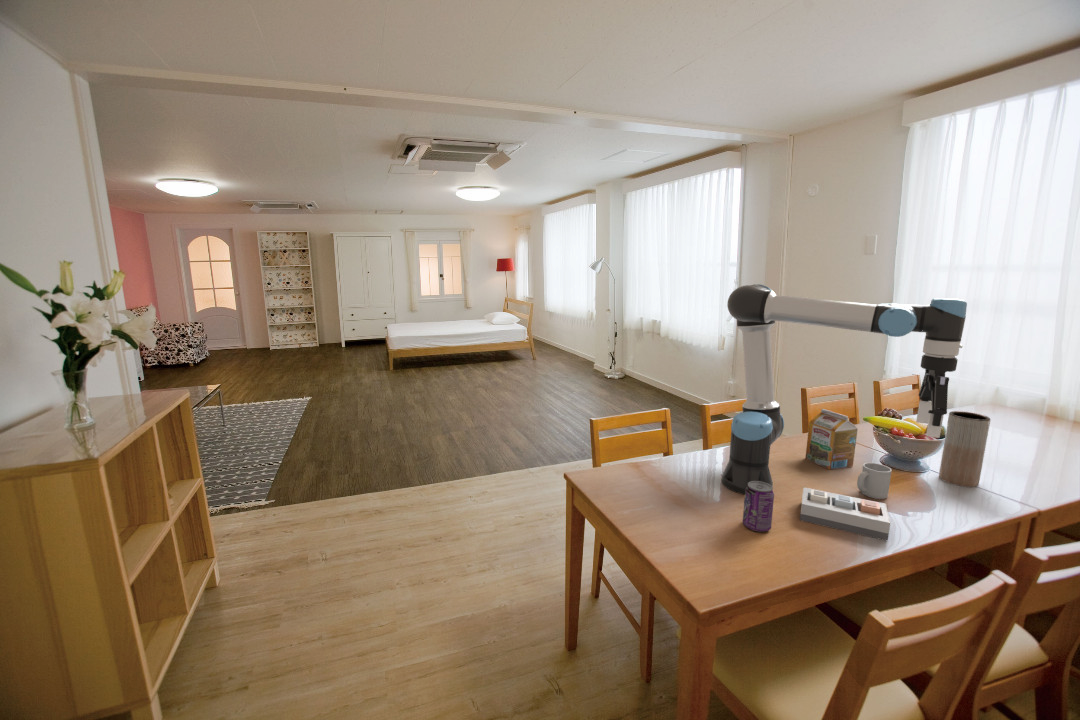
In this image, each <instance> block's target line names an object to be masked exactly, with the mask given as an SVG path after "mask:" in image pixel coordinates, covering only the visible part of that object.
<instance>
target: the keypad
mask: <svg viewBox="0 0 1080 720" xmlns="http://www.w3.org/2000/svg"><path fill="white" fill-rule="evenodd" d="M811 489H813V490H816V488H815V489H814V488H809V487H803V489H802V496H801V497H802V499H801V507H800V516H799V521H802V522H806V523H810V524H815V525H818V526H823V527H828V528H831V529H832V528H833V529H837V530H840V531H844V532H849V533H851V534H852V533H854V534H857V535H861V536H862V535H863V536H865V537H869V538H873V539H878V538H879V539H878V540H882V539H883V541H887V542H888V540H889V534H890V528H891V527H890V526H891V519H890V517H889V516H890V515H889V511H888V509H887V504H886V503H883V502H880V501H879V502H878V501H875V500H874V501H873V500H870V499H864V498H859V497H854V496H851V495H849V496H848V495H844V494H841V493H840V494H839V493H834V492H828V491H825V490H822V491H823V492H827V504H823V503H819V502H814V501H810V497H811ZM817 490H818V491H821V490H820V489H817ZM836 494H837V495H842V496H847V497H852V498H853V509H847V508H842V507H837V506H835V505H834V504H835V495H836ZM861 499H862V500H867V501H872V502H877V503H879V506H880V514H879V515H875V514H870V513H866V512H861V511H860V504H861Z"/></svg>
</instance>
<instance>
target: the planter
mask: <svg viewBox="0 0 1080 720" xmlns="http://www.w3.org/2000/svg"><path fill="white" fill-rule="evenodd" d="M990 424H991V418H990V417H989V416H988V415H985V414H981V413H976V412H971V411H963V410H962V411H961V410H953V411H949V413H948V419H947V423H946V429H945V430H946V431H945V434H944V435H945V436H944V443H943V449H942V453H941V454H942V455H941V461H940V466H939V473H938V477H939V478H940V479H941V480H942V481H944V482H946V483H949V484H952V485H955V486H959V487H966V488H976V487H978V486H979V485H980V480H981V475H982V469H983V463H984V457H985V453H986V446H987V441H988V436H989V430H990Z"/></svg>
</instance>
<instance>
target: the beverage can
mask: <svg viewBox="0 0 1080 720" xmlns="http://www.w3.org/2000/svg"><path fill="white" fill-rule="evenodd" d="M773 489H774V486H773V487H772V486H771V485H770V484H768V483H765V482H761V481H751V482H748V486H747V488H746V489H745V494H744V501H743V511H742V512H743V514H742V524H743V526H745V527H746V528H748V529H750V530H752V531H754V532H759V533H760V532H768V531H770V530H771V529H772V523H773V522H772V521H773V513H774V503H775V502H774V500H775V492H774V490H773Z"/></svg>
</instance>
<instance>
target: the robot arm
mask: <svg viewBox="0 0 1080 720" xmlns="http://www.w3.org/2000/svg"><path fill="white" fill-rule="evenodd" d="M967 306H968V303H967V301H966V300H964V299H962V298H961V299H960V298H949V297H948V298H946V297H945V298H943V297H942V298H939V297H936V298H932V299H931V300H930V303H929V304H925V305H924V304H907V303H905V304H903V303H893V302H891V303H890V302H889V303H879V304H873V303H865V302H864V303H863V302H862V303H861V302H853V301H844V300H831V299H823V298H822V299H820V298H819V299H818V298H811V297H802V296H801V297H799V296H789V295H778V294H776V293H775V292H774V290H772V289H771V288H770V287H768V286H766V285H764V284H761V283H760V284H750V285H749V284H748V285H742V286H739V287H737V288H736V289H733V291H732V292H731V293H730V295H729V297H728V299H727V305H726V307H727V310H728V312H729V314H730V316H731V317H732V318H734V319H735V320H736V327H737V328H738V329H739V330H740V331H741V332H742V335H741V336H742V345H743V346H742V347H743V362H744V363H743V364H744V378H745V381H744V382H745V397H746V401H744V402H743V403H742V412H738V413H736V414H735V415H734V416H733V418H732V422H731V427H730V429H731V431H730V432H731V433H730V443H729V444H730V446H729V459H728V462H727V464H726V466H725V468H724V471H723V473H722V475H721V483H722V485H723V486H724V487H725V488H727V489H728V490H730V491H732V492H735V493H738V494H741V495H745V489H746V488H747V486H748V482H751V481H761V482H765V483H768V484H770V485H771V486H772V487H773V488H774V485H773V484H774V482H773V479H772V475H771V471H770V467H769V463H770V453H771V451H770V450H771V445H773V444H774V442H776V441H777V439H779V438H780V436H781V435H782V434H783V432H784V428H785V420H784V417H783V415H782V414H781V406H780V403H779V402H778V401H776V400H775V387H774V385H775V384H774V373H773V372H774V369H773V355H772V353H773V352H772V334H771V330H772V328H773V327H774V326H775V324H776V322H783V323H784V322H785V323H792V324H802V325H808V326H817V327H826V328H833V329H841V330H842V329H844V330H850V331H861V332H867V333H868V332H869V333H874V334H882V335H886V336H889V337H895V338H896V337H899V338H900V337H904V336H906V335H908V334H910V333H913V332H914V333H925V336H924V337H925V338H924V339H923V340H924V342H923V347H922V353H923V354H922V356H921V361H920V368H922V369H924V370H925V372H924V375H923V379H922V383H921V386H920V389H919V391H918V392H919V393H918V397H919V402H918V409H917V413H916V415H917V416H916V419H915V421H916V423H918V424H919V423H920V424H927V429H926V437H931V438H937V439H939V438H940V437H941V431H942V426H943V421H944V416H945V415H947V414H948V394H949V392H948V390H949V389H948V388H949V382H950V377H949V376H946V373H947V372H948V373H950V372H951V373H953V372H955V371H956V370H957V366H958V361H959V358H957V356H959V354H960V349H962V348H963V347H964V346H963V344H961V342H962V338H963V333H964V327H965V322H966V316H967V315H966V314H967Z"/></svg>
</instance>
